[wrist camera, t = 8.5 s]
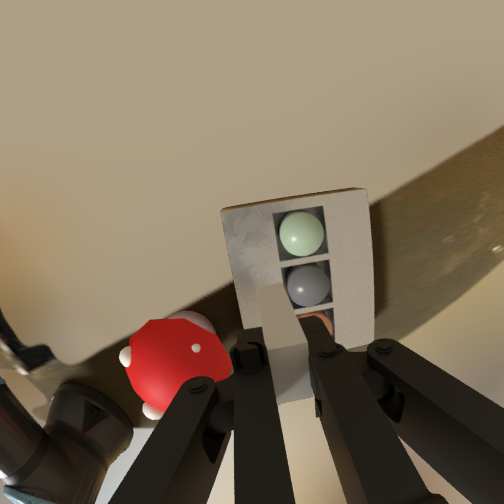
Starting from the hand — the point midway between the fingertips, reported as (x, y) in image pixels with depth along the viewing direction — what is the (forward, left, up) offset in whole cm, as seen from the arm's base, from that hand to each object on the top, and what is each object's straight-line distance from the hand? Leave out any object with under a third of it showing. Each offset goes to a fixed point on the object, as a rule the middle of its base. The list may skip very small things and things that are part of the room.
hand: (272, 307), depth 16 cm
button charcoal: (+4, -4, -13) cm, 14 cm away
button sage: (+4, +1, -13) cm, 14 cm away
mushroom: (-10, -9, -15) cm, 20 cm away
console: (+4, -4, -15) cm, 16 cm away
